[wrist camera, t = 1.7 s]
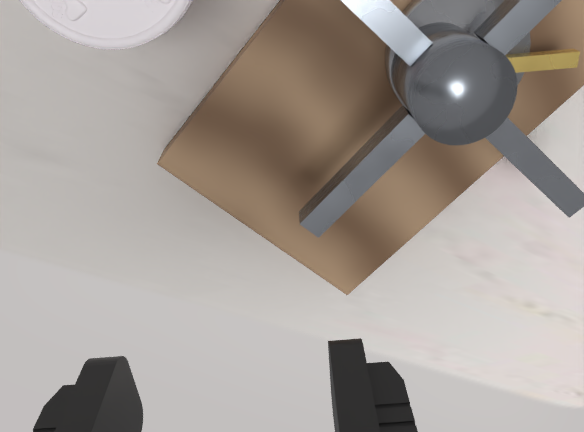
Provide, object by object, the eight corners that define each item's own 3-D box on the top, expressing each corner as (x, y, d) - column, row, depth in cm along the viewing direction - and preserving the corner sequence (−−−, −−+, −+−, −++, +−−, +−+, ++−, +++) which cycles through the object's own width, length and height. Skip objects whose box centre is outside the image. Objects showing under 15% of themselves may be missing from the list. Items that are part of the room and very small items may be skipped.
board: (343, 275, 34) (347, 296, 32) (164, 149, 29) (156, 165, 27) (608, 34, 27) (634, 42, 25) (426, -188, 22) (440, -198, 20)
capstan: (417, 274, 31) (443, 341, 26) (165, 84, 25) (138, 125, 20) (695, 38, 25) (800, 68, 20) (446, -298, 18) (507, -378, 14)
